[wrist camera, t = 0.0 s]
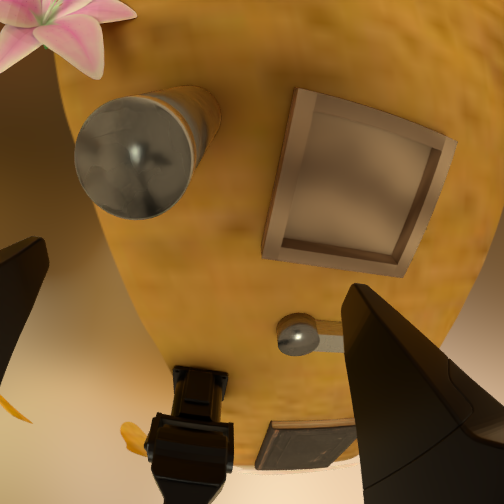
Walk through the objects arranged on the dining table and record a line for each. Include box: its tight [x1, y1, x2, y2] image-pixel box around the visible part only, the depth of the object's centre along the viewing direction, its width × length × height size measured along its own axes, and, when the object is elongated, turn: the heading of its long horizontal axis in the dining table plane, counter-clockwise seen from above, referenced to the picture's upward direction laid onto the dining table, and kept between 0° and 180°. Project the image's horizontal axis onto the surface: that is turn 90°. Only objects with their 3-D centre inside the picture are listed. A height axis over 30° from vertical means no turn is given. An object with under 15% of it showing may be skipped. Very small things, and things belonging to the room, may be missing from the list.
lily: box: [0, 0, 137, 80], centre depth 11 cm, size 12×12×10 cm
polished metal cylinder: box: [75, 85, 221, 220], centre depth 15 cm, size 5×5×11 cm
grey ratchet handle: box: [277, 313, 344, 356], centre depth 30 cm, size 14×4×2 cm, turn 80°
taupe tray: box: [261, 87, 458, 278], centre depth 21 cm, size 12×12×2 cm
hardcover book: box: [255, 418, 357, 470], centre depth 48 cm, size 16×23×2 cm
